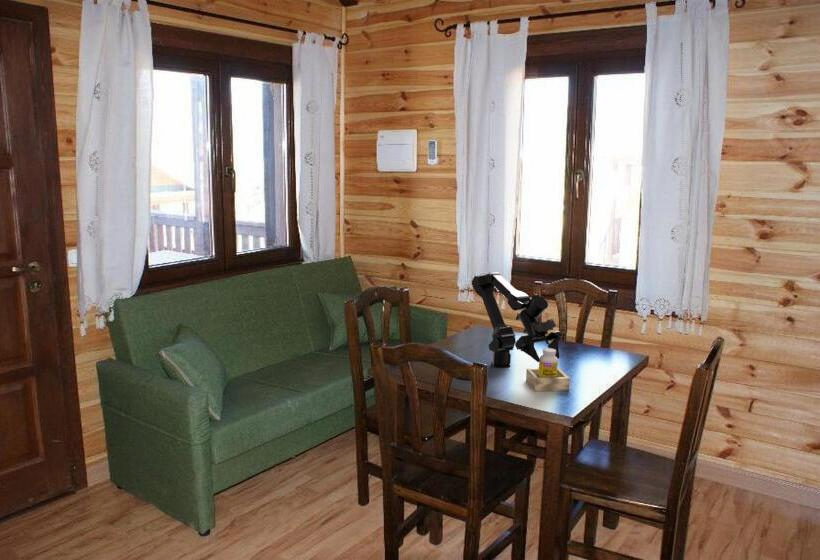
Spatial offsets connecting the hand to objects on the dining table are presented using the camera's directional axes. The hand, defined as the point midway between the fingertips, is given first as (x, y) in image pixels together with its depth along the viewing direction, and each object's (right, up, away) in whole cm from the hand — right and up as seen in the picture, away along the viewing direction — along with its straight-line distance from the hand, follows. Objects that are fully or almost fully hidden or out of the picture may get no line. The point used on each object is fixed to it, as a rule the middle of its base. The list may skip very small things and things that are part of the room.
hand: (548, 359), depth 255 cm
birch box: (0, -10, +2) cm, 10 cm away
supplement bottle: (0, -9, +2) cm, 9 cm away
